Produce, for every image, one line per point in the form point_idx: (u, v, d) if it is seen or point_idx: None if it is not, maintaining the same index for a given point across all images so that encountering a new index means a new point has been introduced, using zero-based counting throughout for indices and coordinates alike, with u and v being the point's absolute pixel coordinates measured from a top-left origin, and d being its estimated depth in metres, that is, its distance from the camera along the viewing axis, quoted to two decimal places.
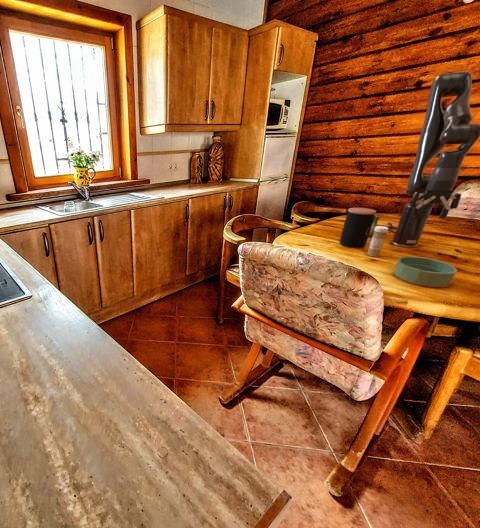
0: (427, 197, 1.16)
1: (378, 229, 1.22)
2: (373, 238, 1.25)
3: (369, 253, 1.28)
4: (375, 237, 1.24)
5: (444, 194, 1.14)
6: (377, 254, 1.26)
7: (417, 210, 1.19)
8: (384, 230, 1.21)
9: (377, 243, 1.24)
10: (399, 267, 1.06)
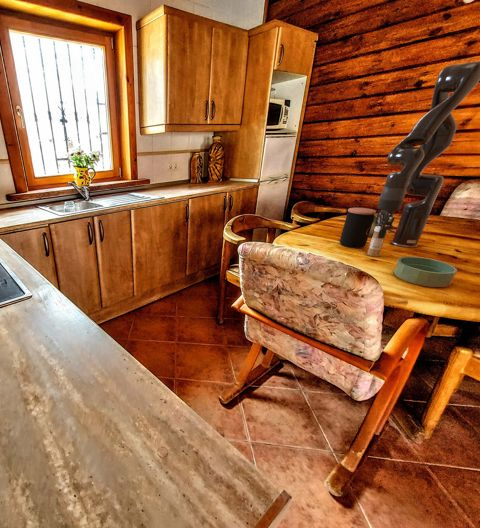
0: None
1: (378, 229, 1.22)
2: (373, 238, 1.25)
3: (369, 253, 1.28)
4: (375, 237, 1.24)
5: (384, 213, 1.19)
6: (377, 254, 1.26)
7: None
8: None
9: (377, 243, 1.24)
10: (399, 267, 1.06)
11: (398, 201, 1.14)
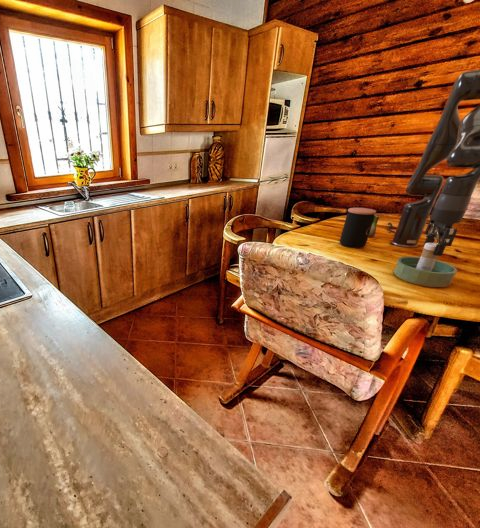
0: None
1: (430, 247, 1.00)
2: (422, 257, 1.03)
3: None
4: (425, 256, 1.02)
5: (441, 225, 0.96)
6: None
7: (426, 239, 1.04)
8: None
9: (427, 263, 1.02)
10: (399, 267, 1.06)
11: (460, 212, 0.92)
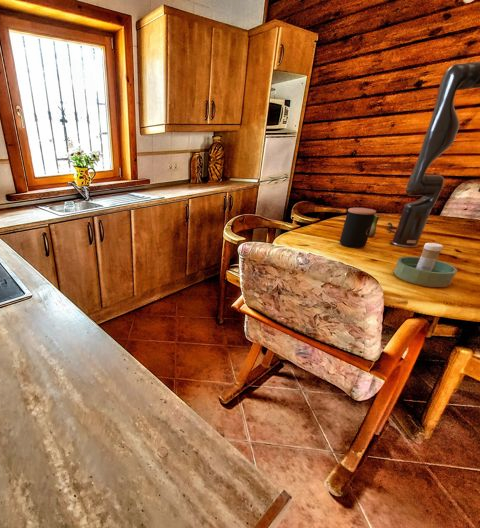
0: None
1: (430, 247, 1.00)
2: (422, 257, 1.03)
3: None
4: (425, 256, 1.02)
5: None
6: None
7: None
8: (438, 248, 0.99)
9: (427, 263, 1.02)
10: (399, 267, 1.06)
11: None
